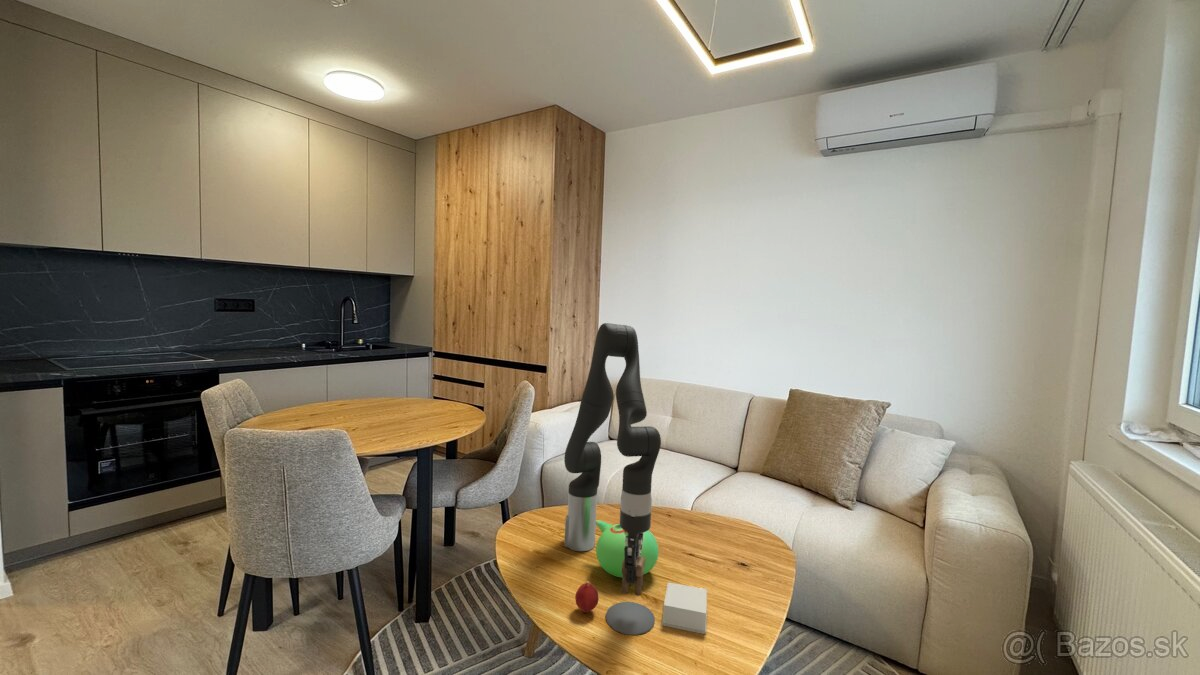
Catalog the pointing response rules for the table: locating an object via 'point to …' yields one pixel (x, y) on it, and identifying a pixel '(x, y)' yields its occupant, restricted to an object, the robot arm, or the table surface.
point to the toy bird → (622, 549)
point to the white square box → (685, 608)
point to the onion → (586, 597)
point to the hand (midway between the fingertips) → (632, 575)
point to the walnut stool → (638, 576)
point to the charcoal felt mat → (630, 618)
